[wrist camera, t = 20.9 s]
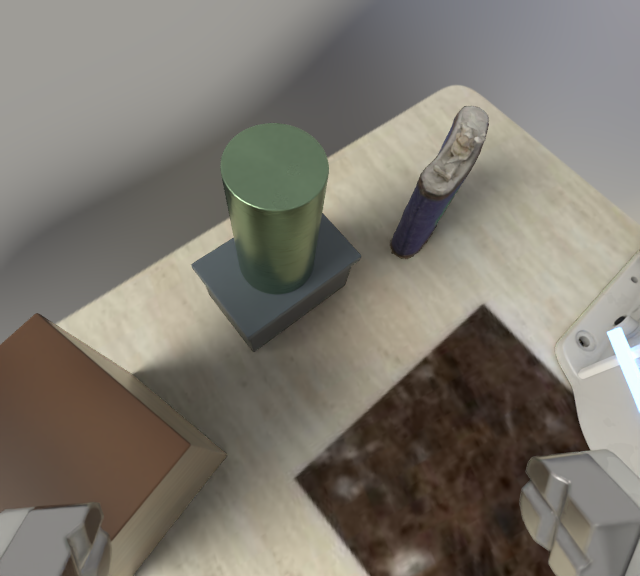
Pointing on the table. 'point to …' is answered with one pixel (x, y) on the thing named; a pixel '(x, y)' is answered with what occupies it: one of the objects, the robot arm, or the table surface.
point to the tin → (275, 203)
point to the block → (94, 441)
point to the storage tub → (274, 309)
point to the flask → (440, 181)
